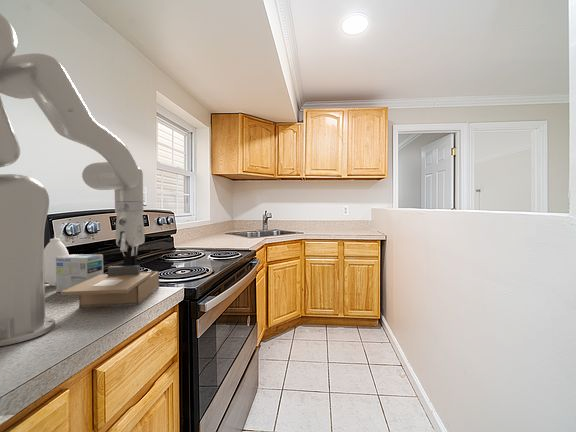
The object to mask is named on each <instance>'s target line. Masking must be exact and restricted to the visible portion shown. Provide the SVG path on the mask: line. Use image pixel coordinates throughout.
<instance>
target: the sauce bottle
mask: <svg viewBox="0 0 576 432" xmlns="http://www.w3.org/2000/svg"><path fill="white" fill-rule="evenodd" d="M53 233H54V234H53V238H50V239H49V242H48V243H47V245H46V246H44V270H45V283H46V284H48V285H49V286H52V287H56V257H59V256H66V255H70V254H69V250H68V249H67V247H66V246H65V244H64V243H63V242H62V241H61V239H60V238H58V237H57V232H56V230H54V232H53Z"/></svg>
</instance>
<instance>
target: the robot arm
mask: <svg viewBox="0 0 576 432" xmlns="http://www.w3.org/2000/svg"><path fill="white" fill-rule="evenodd" d="M16 34H17V33H16V31H15V29H14V27H13V26H12V24H11V22H10V21H9V20H8V19H7V18H6V17H5V16H4V15H2V14H1V13H0V94H1V95H5V96H8V97H10V98H14V99H19V100H20V99H21V100H23V99H24V100H26V99H33V100H34V101H35V103H36V104H37V106H38V108H39V109H40V110H41V112H42V113H43V114H44V116H45V117H46V119H47V120H48V121H49V123H50V125H51V126H52V128H53V129H54V131H55V132H56V133H57V134H58V135H59V136H61V137H63V138H66V139H68V140H69V141H72V142H75V143H78V144H80V145H83V146H86V147H87V148H89V149H92V150H93V151H95V152H96V153H98V154H99V155H100V156H101V157H103V158H104V159H105V160H106V161H105V162H104V161H103V162H99V161H98V162H93V163H90V164H88V165H86V166H85V167H84V168H83V170H82V173H81V174H82V175H81V177H82V180H83V182H84V183H85V185H87V186H88V187H89V188H91V189H93V190H99V191H110V190H114V213H115V214H116V222H115V244H116V246H117V247H120V252H122V255H123V266H138V248H139V246H140V245H143V244H144V243H145V242H146V241H145V239H146V237H145V223H144V216H143V214H144V183H143V182H144V176H143V175H144V173H143V170H142V169H141V167H138V165H137V163H136V160H135V159H134V156H133V154H132V153H131V152H130V150H129V149H128V147H127V146H126V145H125V144H124V143H123V141H122V140H121V139H120V138H118V137H117V135H114V134H113V133H112V132H111V131H109V129H108V128H106V127H105V126H103V125H101V124H99V123H98V122H97V121H96V120H95V118H94V117H93V116H92V114H91V112H90V110H89V109H88V107H87V105H86V103H85V101H84V100H83V98H82V96H81V94H80V93H79V92H78V90H77V88H76V86H75V84H74V83H73V82H72V80H71V78H70V76H69V74H68V73H67V71H66V69H65V68H64V66H63V65H62V64H61V62H60V61H59V60H57V58H55V57H53V56H51V55H48V54H45V53H36V52H35V53H25V54H18V55H17V54H16V55H14V54H15V53H16V50H17V46H18V37H17V35H16ZM1 97H2V96H0V168H6V167H8V166H11V165H13V164H14V163H16V162H17V161H18V159H19V158H20V155H21V148H20V144H19V141H18V138H17V135H16V133H15V129H14V128H13V126H12V123H11V121H10V118H9V115H8V112H7V110H6V109H5V108H6V107H5V106H4V104H3V100H2V98H1ZM49 207H50V195H49V192H48V191H47V189H46V188H45V186H44V185H43V184H42V183H41V182H40V181H38V180H37V179H35V178H33V177H30V176H27V175H23V174H13V173H12V174H11V173H10V174H9V173H7V174H6V173H5V174H3V173H2V174H0V347H4V346H5V347H6V346H8V345H14V344H18V343H21V342H25V341H30V340H32V339H34V338H37V337H39V336H42V335H44V334H47V333H49V332H50V331H52V330H53V329H54V327H55V326H56V320H55V318H52V317H49V316H46V291H45V290H46V287H45V285H46V284H45V270H44V249H45V228H46V222H47V217H48V213H49Z"/></svg>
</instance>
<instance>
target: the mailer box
mask: <svg viewBox="0 0 576 432" xmlns="http://www.w3.org/2000/svg"><path fill="white" fill-rule="evenodd" d="M140 273H152V276H150V277H149V278H147V279H146V280H144V281H143V282H142V283H140V284H139V285H137V286H136V287H134V288H133V289H132V290H130V291H129V292H127V293H109V294H84V295H78V308H79V309H85V308H105V307H106V308H109V307H110V308H111V307H129V306H139V305H141V303H142V301H143V302H144V301H145V300H146V299H147V298H148V297H150V294H151V293H152V292H153V291H154V292H156V290H157V289H158V288H159V287H160V271H140ZM154 292H153V293H154ZM153 293H152V294H153ZM152 294H151V295H152Z"/></svg>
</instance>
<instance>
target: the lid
mask: <svg viewBox="0 0 576 432" xmlns="http://www.w3.org/2000/svg"><path fill="white" fill-rule="evenodd" d="M140 272H141V265H137V266H124V265H113V266H112V265H110V266H108V267H107V273H103V274H100V275H98V276H96V277H93V278H91V279H89V280H87V281H84V282H82V283H80V284H78V285H75V286H73V287H71V288H68V289H66V290H64V291H62V292H60V296H76V295H77V296H79V295H84V294H109V293H127V292H129V291H130V290H132V289H133V288H134V287H136V286H137V285H139V284H140V283H142V282H143V281H144V280H146V279H147V278H149V277H150V276H152V273H140Z"/></svg>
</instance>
